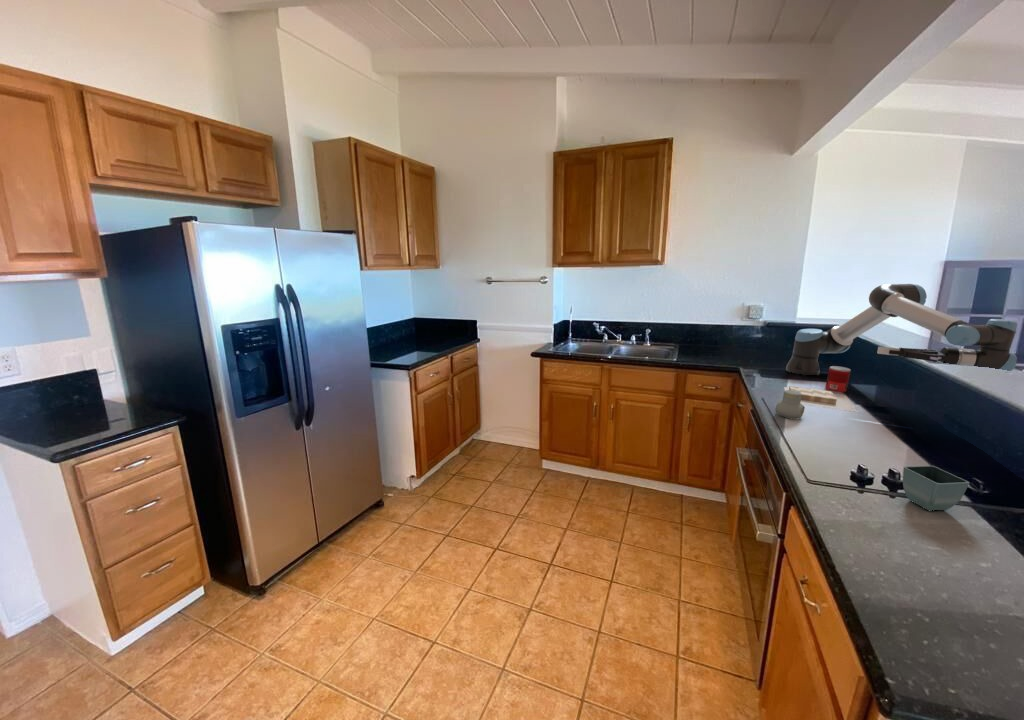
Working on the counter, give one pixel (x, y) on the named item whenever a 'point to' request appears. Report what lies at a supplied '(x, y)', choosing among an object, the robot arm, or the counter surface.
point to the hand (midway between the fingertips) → (878, 350)
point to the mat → (841, 404)
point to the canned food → (838, 378)
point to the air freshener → (790, 405)
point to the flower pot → (933, 487)
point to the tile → (815, 395)
